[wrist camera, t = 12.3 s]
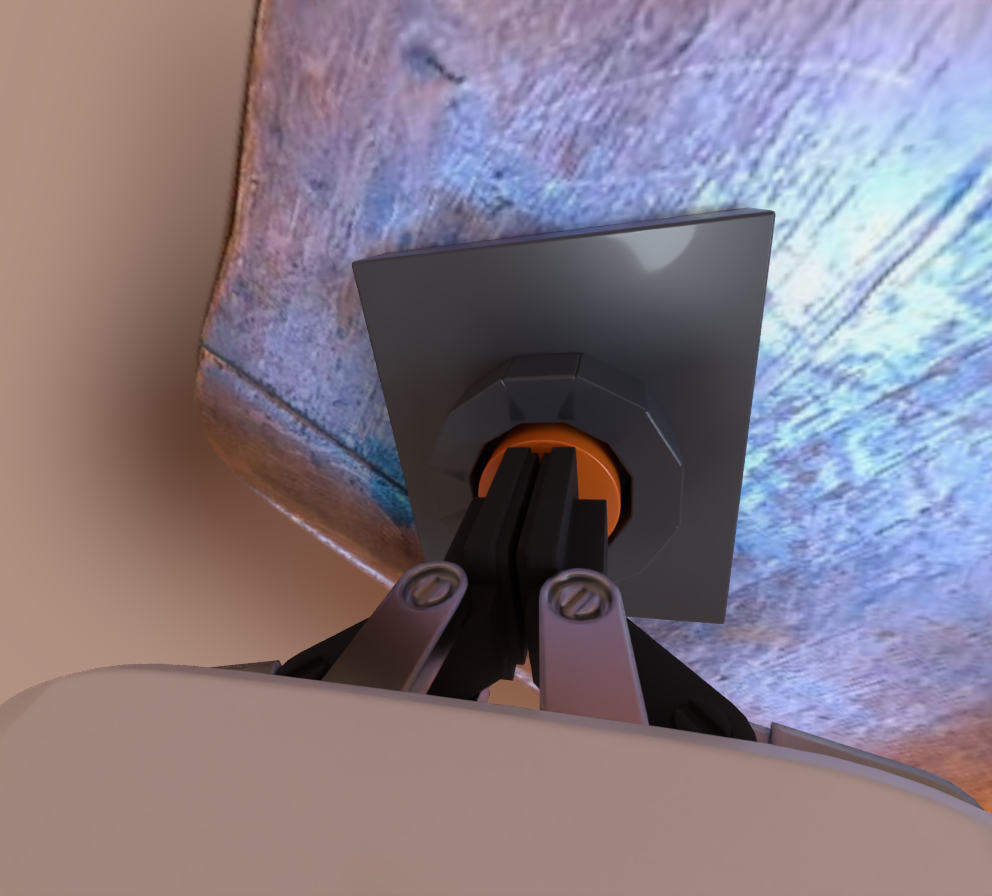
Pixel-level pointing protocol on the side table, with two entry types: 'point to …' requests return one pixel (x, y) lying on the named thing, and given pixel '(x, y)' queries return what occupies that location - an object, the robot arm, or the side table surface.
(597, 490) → the button
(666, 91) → the side table surface
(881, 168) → the side table surface
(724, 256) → the button block
